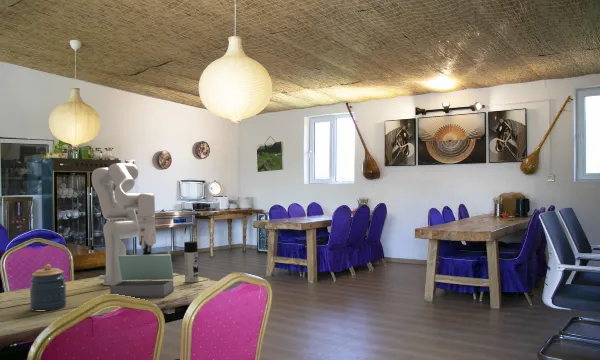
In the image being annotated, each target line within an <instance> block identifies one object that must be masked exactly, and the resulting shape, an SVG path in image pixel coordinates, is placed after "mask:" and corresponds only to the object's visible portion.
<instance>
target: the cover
mask: <svg viewBox="0 0 600 360" xmlns="http://www.w3.org/2000/svg"><path fill="white" fill-rule="evenodd" d="M118 259H119V265H120V272H121V279H122V280H130V281H161V280H173V281H174V271H173V262H172V255H171V254H170V253H169V254H167V253H166V254H165V253H164V254H163V253H162V254H151V255H143V254H126V255H119V256H118Z"/></svg>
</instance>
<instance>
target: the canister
mask: <svg viewBox="0 0 600 360" xmlns="http://www.w3.org/2000/svg"><path fill="white" fill-rule="evenodd" d="M64 272H65V271H64V270H62V269H61V268H58V267H52V265H51V264H50V263H47V264H44V266H43V268H41V269H37V270H35V272H32V273H31V275H32V278H30V279H29V282H30V287H29V297H30V299H29V300H30V301H29V308H30V310H31V309H33V310H51V311H54V310H53V309H56V310H59V308H60V309H63V308H64V307H66V304H67V295H66V294H67V292H66V291H67V290H66V288H67V284H66V281H65V280H66V278H67V277H66V275H64Z"/></svg>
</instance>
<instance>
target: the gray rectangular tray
mask: <svg viewBox="0 0 600 360" xmlns="http://www.w3.org/2000/svg"><path fill="white" fill-rule="evenodd" d="M109 289H110V290H109V295H110V294H119V295H125V296H131V297H137V298H136V299H138V298H140V299H142V298H144V299H146V297H147V298H148V299H150V298H149V297H157V299H158V297H160V298H163V299H164V298H167V297H168V296H169V295H170V294H172V293H173V292H174V279H173V280H130V281H121V282H119V283H117V284H114V285H109ZM160 298H159V299H160Z"/></svg>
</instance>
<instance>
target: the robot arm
mask: <svg viewBox="0 0 600 360" xmlns="http://www.w3.org/2000/svg"><path fill="white" fill-rule="evenodd" d="M138 176H139V169H138V167H137V166H136V165H135V164H133V163H125V162H124V163H122V162H121V163H120V162H119V163H118V162H117V163H112V164H111V165H109V166H108V167H98V168H95V169H94V170H93V171H92V174H91V185H92V186H93V189H94V190H95V192H96V195H97V197H98V200H99V205H100V211H101V213H102V215H103V219H105V220H108V221H107V222H106V223H105V224H104V225H103V227H102V228H103V230H102V232H103V237H104V243H105V245H104V246H105V274H104V275H103V274H102V275H101V274H100V275H99V276H98V279H99V280H103V281H102V284H103V285H104V286H112V285H114V284H117V283H119V282H121V281H131V280H122V279H121V272H120V265H119V259H118V256H119V255H127V248H126V247H127V246H126V245H125V243H124V242H123V239H133V238H135V237H137V236H138V245H140V247H141V249H142V252H143V253H142V255H152V250H153V249H152V248H153V245H155V244H156V243H157V234H156V233H157V230H156V225H155V224H156V208H155V207H156V205H155V204H156V203H155V200H156V198H155V194H153V193H149V192H148V193H145V192H136V193H132V192H131V193H128V192H130V191H131V190H132V189H133V188H134V186H135V180H136V179H138ZM109 185H115V188H114V189H113V188H112V187H111V186H109ZM136 210H137V211H136Z"/></svg>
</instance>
